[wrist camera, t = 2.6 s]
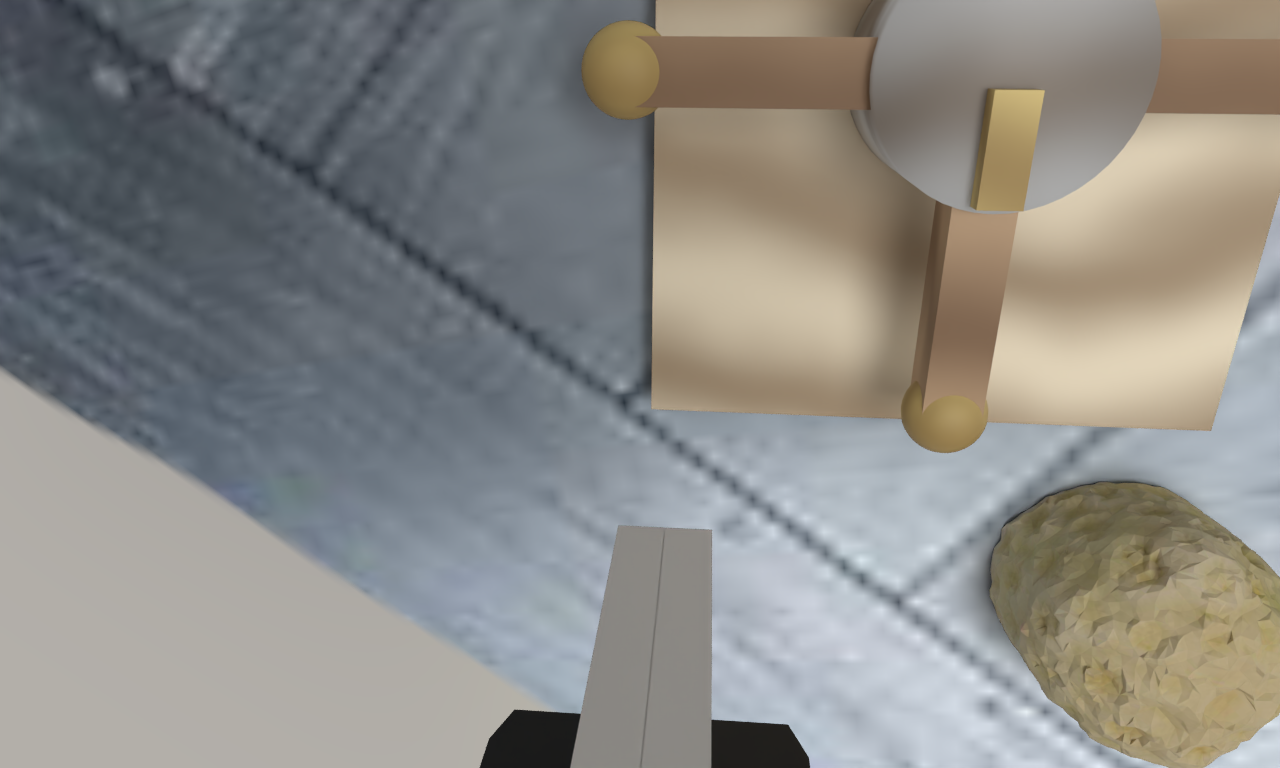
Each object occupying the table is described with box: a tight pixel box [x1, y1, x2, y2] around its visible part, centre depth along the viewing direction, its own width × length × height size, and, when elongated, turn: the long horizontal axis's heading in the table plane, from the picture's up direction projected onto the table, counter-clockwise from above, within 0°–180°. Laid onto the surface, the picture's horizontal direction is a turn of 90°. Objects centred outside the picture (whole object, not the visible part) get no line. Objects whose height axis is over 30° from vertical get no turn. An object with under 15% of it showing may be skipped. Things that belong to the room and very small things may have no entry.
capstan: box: [581, 0, 1280, 453], centre depth 23 cm, size 23×23×6 cm
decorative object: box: [989, 482, 1280, 768], centre depth 32 cm, size 9×10×10 cm
